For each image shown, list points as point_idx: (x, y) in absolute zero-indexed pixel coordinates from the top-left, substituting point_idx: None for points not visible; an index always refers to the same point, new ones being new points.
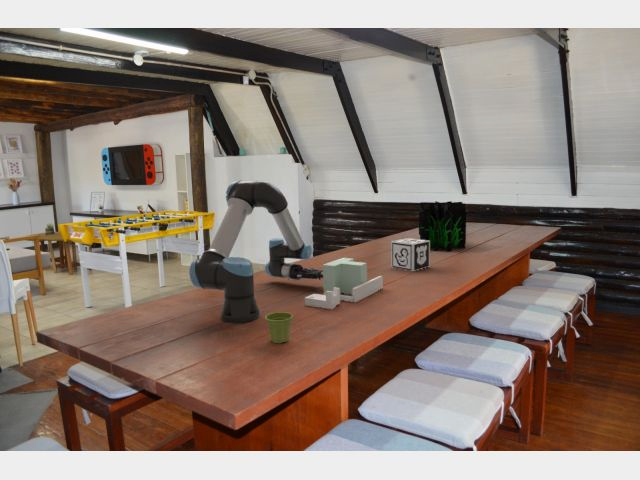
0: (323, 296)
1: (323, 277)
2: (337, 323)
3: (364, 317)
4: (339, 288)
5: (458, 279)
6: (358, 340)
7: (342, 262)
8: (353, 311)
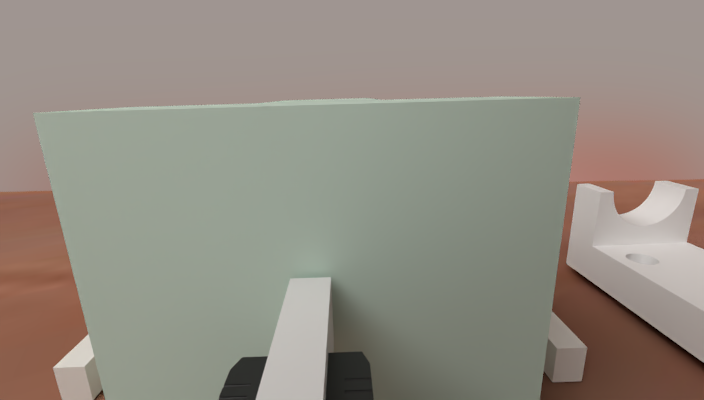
0: (670, 271)
1: (557, 255)
2: (692, 217)
3: (566, 206)
4: (579, 185)
5: (37, 199)
6: (676, 182)
7: (337, 101)
8: (563, 228)
